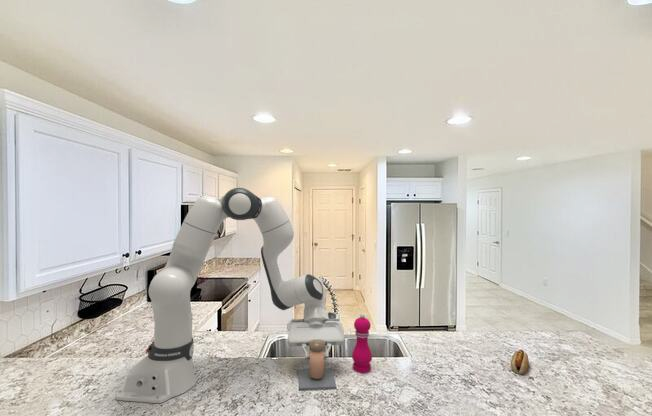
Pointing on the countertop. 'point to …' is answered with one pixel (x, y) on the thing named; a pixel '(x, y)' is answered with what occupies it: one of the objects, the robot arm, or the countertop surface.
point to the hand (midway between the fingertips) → (316, 358)
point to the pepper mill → (362, 346)
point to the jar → (316, 358)
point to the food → (519, 362)
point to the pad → (316, 380)
